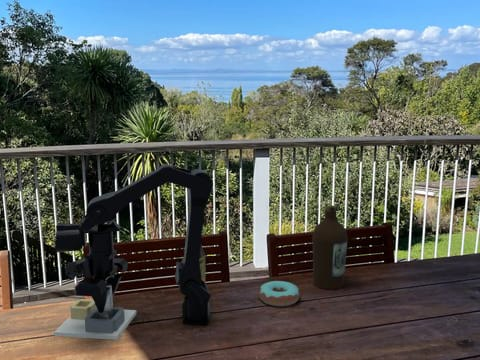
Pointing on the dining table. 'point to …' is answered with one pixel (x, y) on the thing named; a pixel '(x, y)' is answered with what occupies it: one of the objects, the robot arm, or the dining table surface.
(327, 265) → the olive oil
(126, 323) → the fitting plate
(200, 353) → the dining table surface
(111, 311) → the metal cylinder
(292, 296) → the donut
